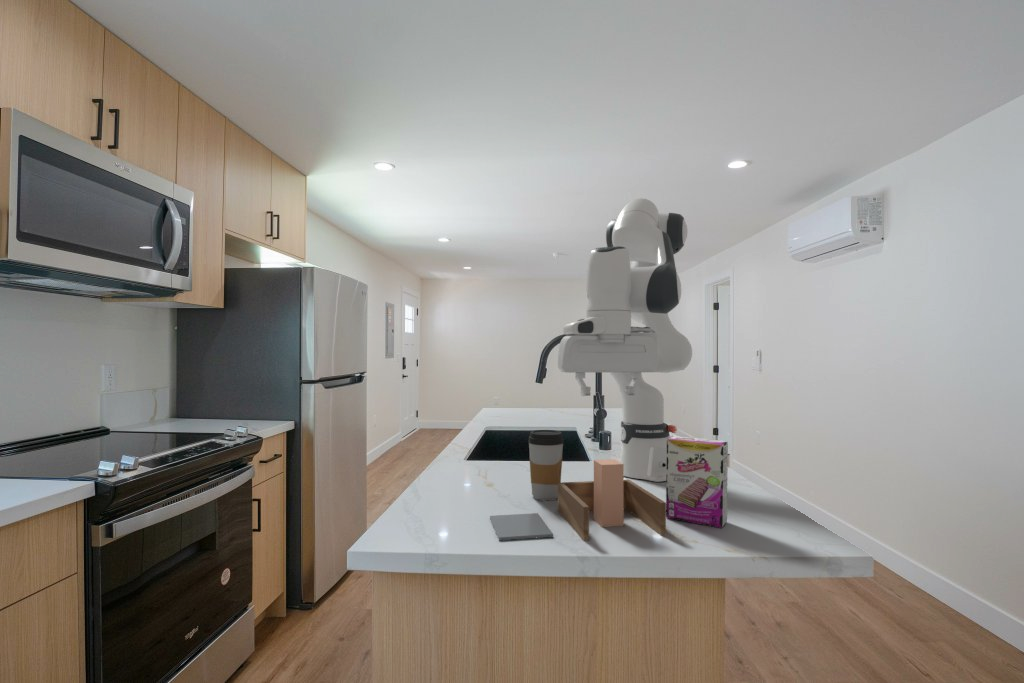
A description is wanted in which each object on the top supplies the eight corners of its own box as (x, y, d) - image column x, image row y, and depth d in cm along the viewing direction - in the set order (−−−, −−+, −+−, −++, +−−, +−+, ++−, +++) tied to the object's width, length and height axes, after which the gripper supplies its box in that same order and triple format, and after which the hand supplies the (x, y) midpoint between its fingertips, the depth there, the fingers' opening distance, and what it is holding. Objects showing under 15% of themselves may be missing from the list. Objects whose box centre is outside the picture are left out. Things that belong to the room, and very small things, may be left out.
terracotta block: (614, 518, 105) (614, 459, 106) (623, 525, 101) (623, 464, 101) (593, 519, 105) (593, 459, 105) (601, 526, 100) (601, 465, 100)
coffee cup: (561, 503, 115) (562, 436, 115) (524, 500, 117) (525, 434, 117) (565, 493, 123) (565, 430, 123) (530, 490, 125) (531, 428, 125)
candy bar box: (665, 519, 105) (665, 438, 105) (671, 512, 109) (671, 434, 109) (723, 529, 99) (723, 444, 99) (728, 522, 103) (728, 440, 103)
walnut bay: (628, 507, 113) (628, 479, 113) (665, 535, 96) (665, 502, 96) (557, 510, 110) (558, 482, 110) (583, 540, 93) (583, 507, 93)
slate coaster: (537, 516, 106) (537, 513, 106) (553, 537, 95) (553, 533, 95) (489, 518, 104) (489, 515, 104) (499, 540, 93) (499, 537, 93)
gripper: (650, 327, 108) (649, 393, 108) (555, 326, 105) (555, 394, 104) (664, 326, 102) (663, 396, 102) (564, 324, 98) (564, 397, 98)
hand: (608, 395), depth 103 cm, fingers open, 8 cm apart
